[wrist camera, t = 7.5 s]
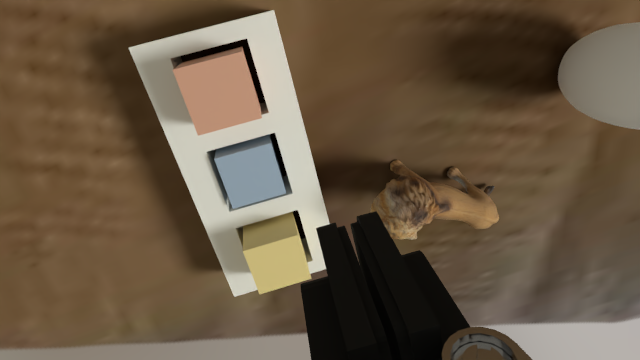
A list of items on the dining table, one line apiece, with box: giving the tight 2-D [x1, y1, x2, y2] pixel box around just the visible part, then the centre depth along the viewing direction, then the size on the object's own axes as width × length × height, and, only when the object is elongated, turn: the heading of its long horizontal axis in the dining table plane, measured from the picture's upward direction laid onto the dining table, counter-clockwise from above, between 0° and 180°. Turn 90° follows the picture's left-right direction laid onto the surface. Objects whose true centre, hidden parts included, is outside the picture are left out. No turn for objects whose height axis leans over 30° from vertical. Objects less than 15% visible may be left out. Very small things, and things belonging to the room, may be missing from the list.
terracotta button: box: [173, 47, 262, 136], centre depth 27 cm, size 4×4×4 cm
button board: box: [129, 10, 329, 297], centre depth 33 cm, size 22×10×4 cm, turn 13°
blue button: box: [214, 134, 286, 209], centre depth 32 cm, size 4×4×4 cm
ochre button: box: [243, 212, 311, 294], centre depth 33 cm, size 4×4×4 cm
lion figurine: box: [371, 160, 499, 240], centre depth 34 cm, size 15×5×9 cm, turn 85°
